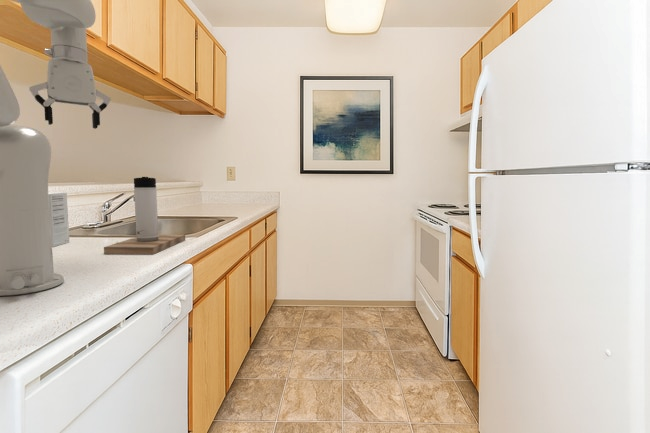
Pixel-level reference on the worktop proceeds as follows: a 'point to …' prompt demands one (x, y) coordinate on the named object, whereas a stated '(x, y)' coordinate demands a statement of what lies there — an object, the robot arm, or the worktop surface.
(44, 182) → the robot arm
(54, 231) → the supplement box
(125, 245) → the walnut board
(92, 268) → the worktop surface
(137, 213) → the travel mug
